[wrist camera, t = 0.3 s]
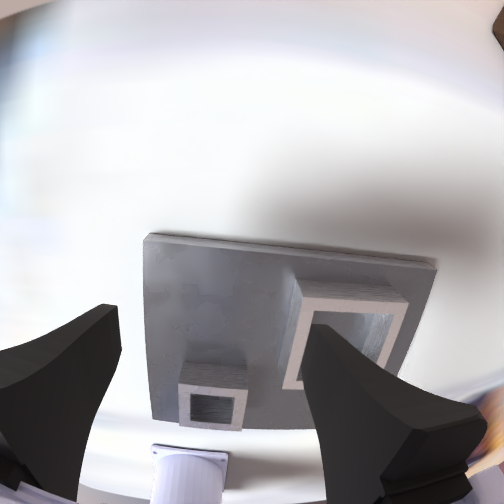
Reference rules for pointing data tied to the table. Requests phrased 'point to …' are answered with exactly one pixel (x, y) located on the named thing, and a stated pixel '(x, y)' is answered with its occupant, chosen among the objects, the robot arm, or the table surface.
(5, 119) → the table surface
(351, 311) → the socket plate
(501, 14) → the religious icon
